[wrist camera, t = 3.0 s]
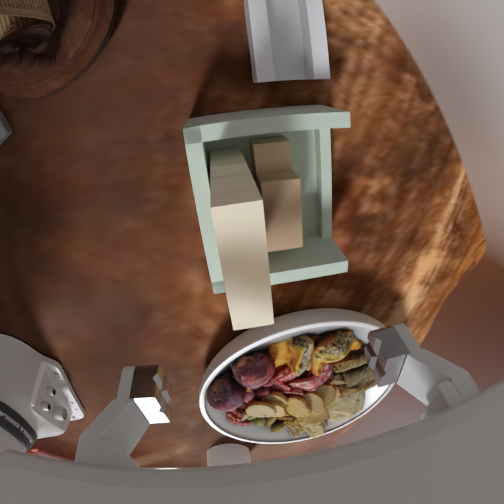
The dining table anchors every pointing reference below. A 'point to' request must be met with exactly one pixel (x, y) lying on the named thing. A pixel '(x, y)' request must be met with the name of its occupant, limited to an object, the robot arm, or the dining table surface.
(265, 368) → the bowl
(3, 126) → the framed board
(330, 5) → the dining table surface
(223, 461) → the base with upright slab
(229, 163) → the beige streaked board
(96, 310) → the dining table surface
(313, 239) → the box
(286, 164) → the offcut long
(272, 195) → the offcut short
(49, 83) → the scroll
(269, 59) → the holder
